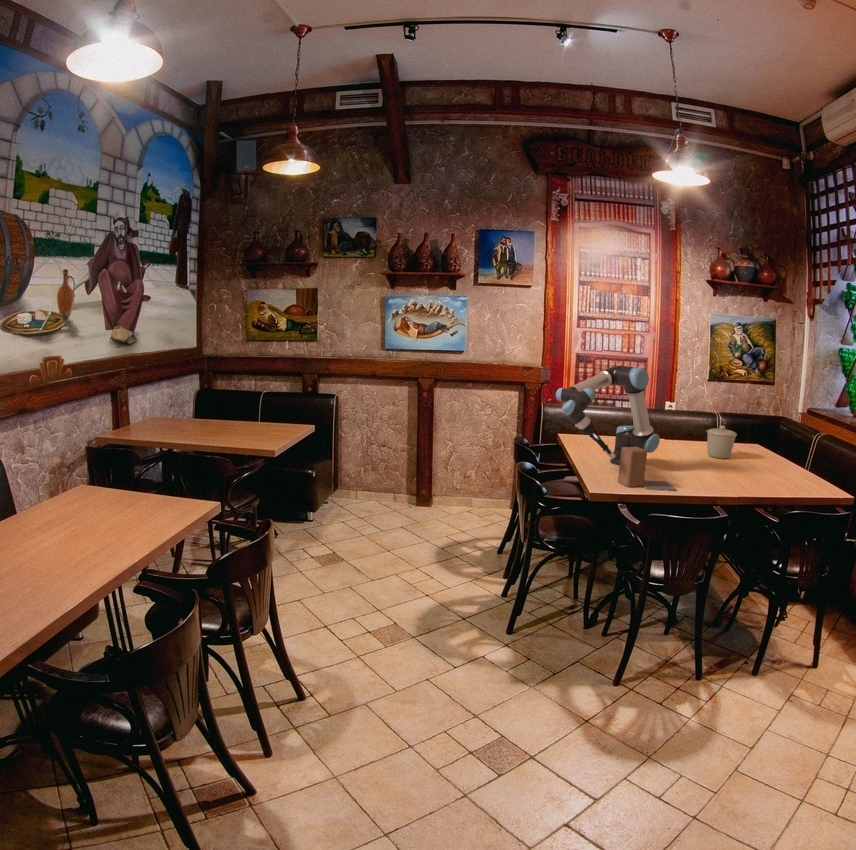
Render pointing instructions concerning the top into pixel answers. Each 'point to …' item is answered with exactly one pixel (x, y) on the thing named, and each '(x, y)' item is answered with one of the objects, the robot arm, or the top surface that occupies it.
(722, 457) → the canister
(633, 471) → the wooden block
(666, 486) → the mat
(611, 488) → the top surface
